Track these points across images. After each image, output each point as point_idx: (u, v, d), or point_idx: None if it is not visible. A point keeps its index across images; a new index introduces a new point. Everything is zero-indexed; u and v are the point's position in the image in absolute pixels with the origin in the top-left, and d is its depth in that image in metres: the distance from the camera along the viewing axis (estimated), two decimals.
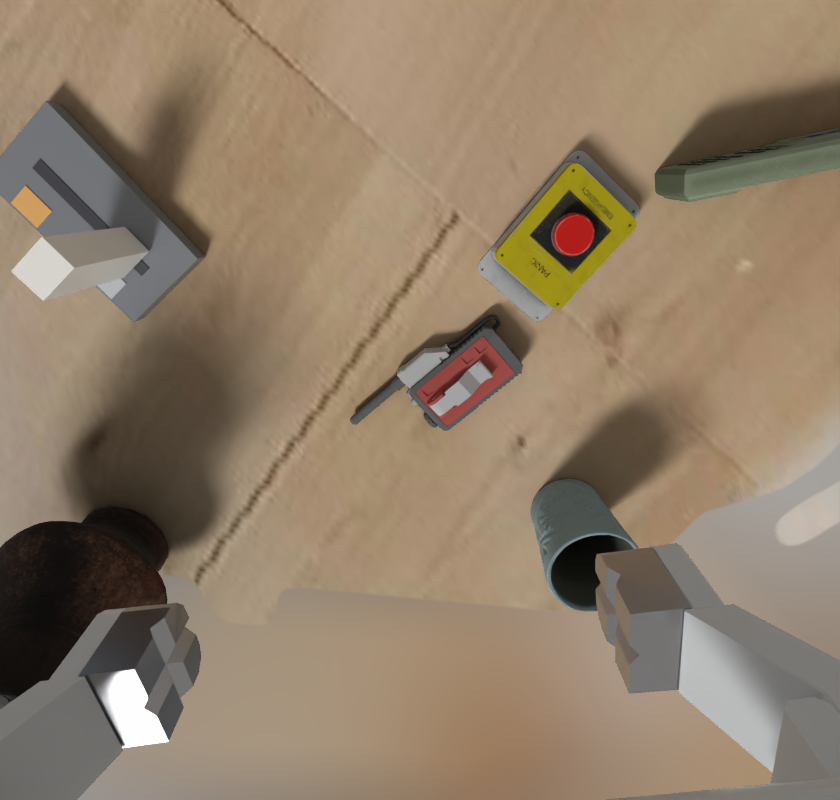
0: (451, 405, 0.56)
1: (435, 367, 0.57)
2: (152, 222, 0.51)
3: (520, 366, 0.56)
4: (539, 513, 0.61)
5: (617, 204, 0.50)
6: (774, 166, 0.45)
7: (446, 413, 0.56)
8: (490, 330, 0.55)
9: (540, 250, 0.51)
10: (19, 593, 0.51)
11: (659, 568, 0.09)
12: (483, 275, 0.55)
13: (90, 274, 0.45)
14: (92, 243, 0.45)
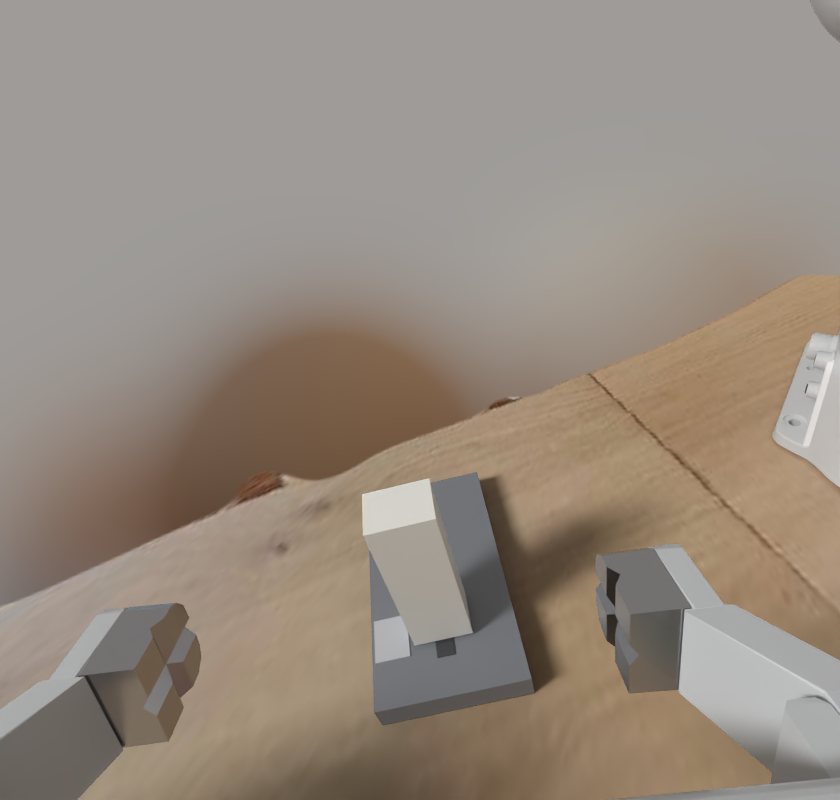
0: None
1: None
2: (500, 605, 0.37)
3: None
4: None
5: None
6: None
7: None
8: None
9: None
10: None
11: (659, 568, 0.09)
12: None
13: (421, 567, 0.30)
14: (448, 547, 0.32)
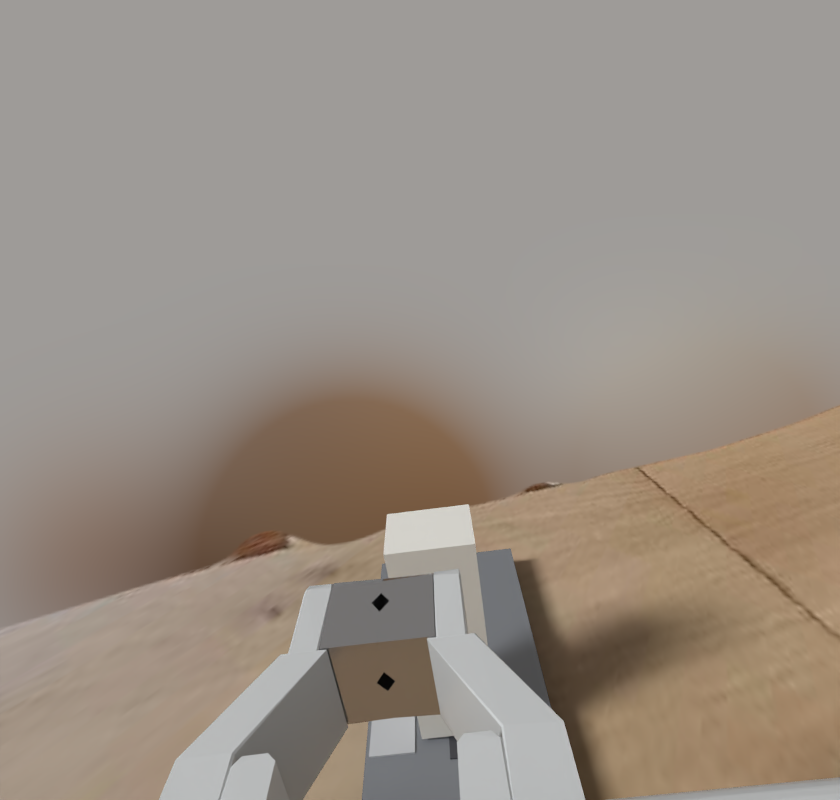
0: None
1: None
2: None
3: None
4: None
5: None
6: None
7: None
8: None
9: None
10: None
11: (427, 595, 0.09)
12: None
13: None
14: None
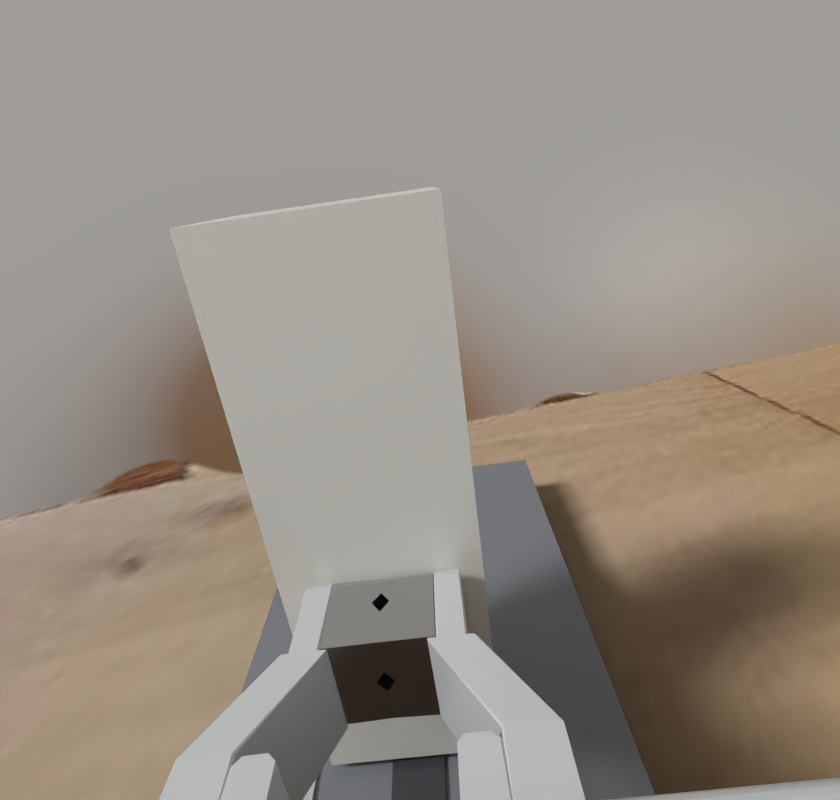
0: None
1: None
2: (596, 729, 0.13)
3: None
4: None
5: None
6: None
7: None
8: None
9: None
10: None
11: (427, 595, 0.09)
12: None
13: (372, 442, 0.09)
14: None
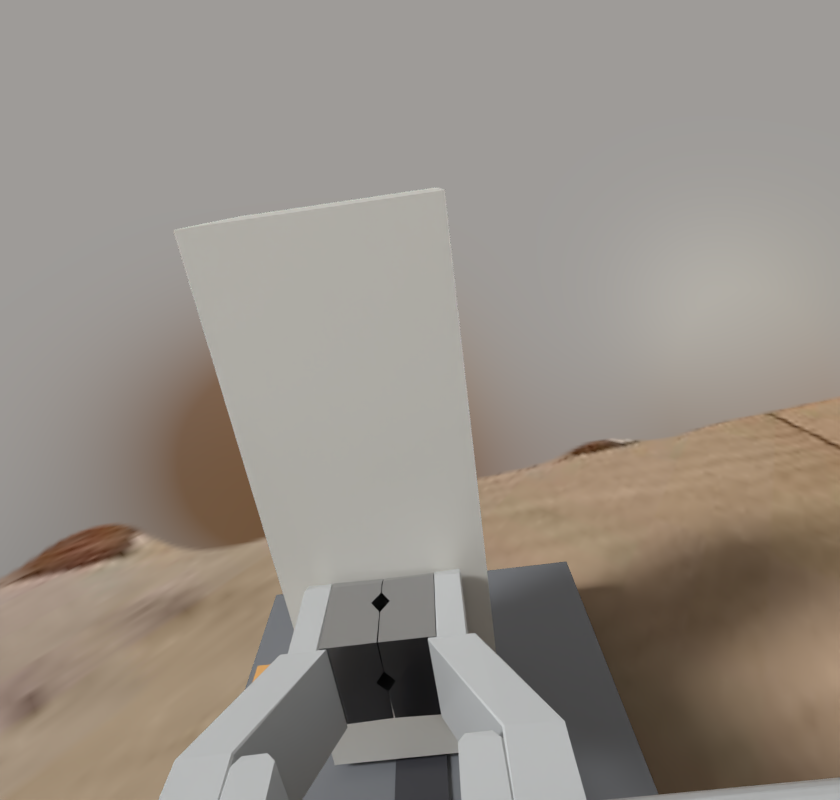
0: None
1: None
2: None
3: None
4: None
5: None
6: None
7: None
8: None
9: None
10: None
11: (428, 595, 0.09)
12: None
13: (376, 443, 0.09)
14: None
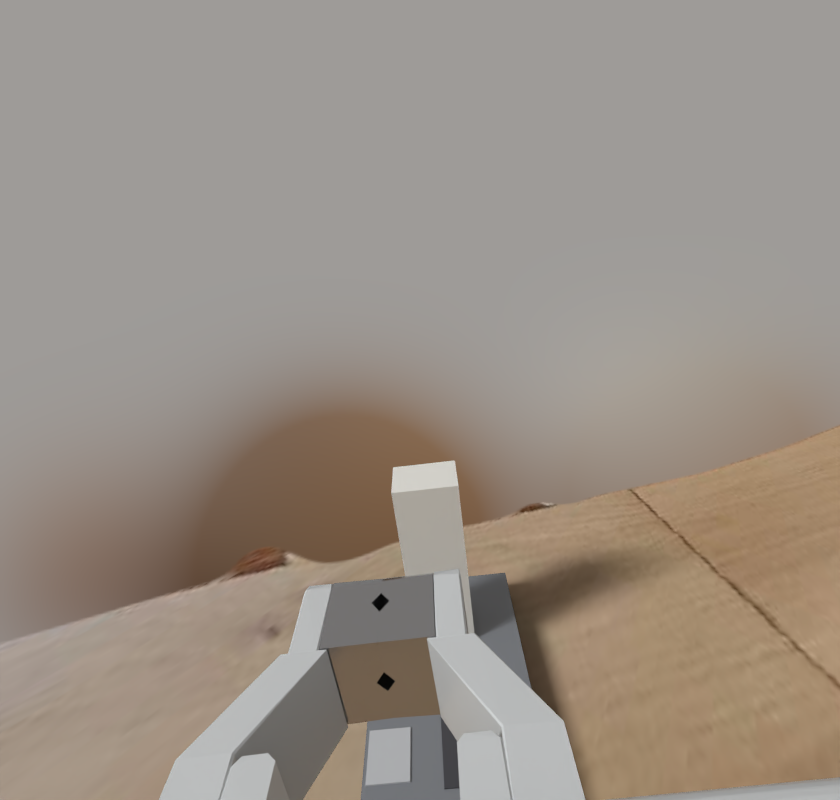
0: None
1: None
2: None
3: None
4: None
5: None
6: None
7: None
8: None
9: None
10: None
11: (427, 595, 0.09)
12: None
13: (437, 541, 0.33)
14: None
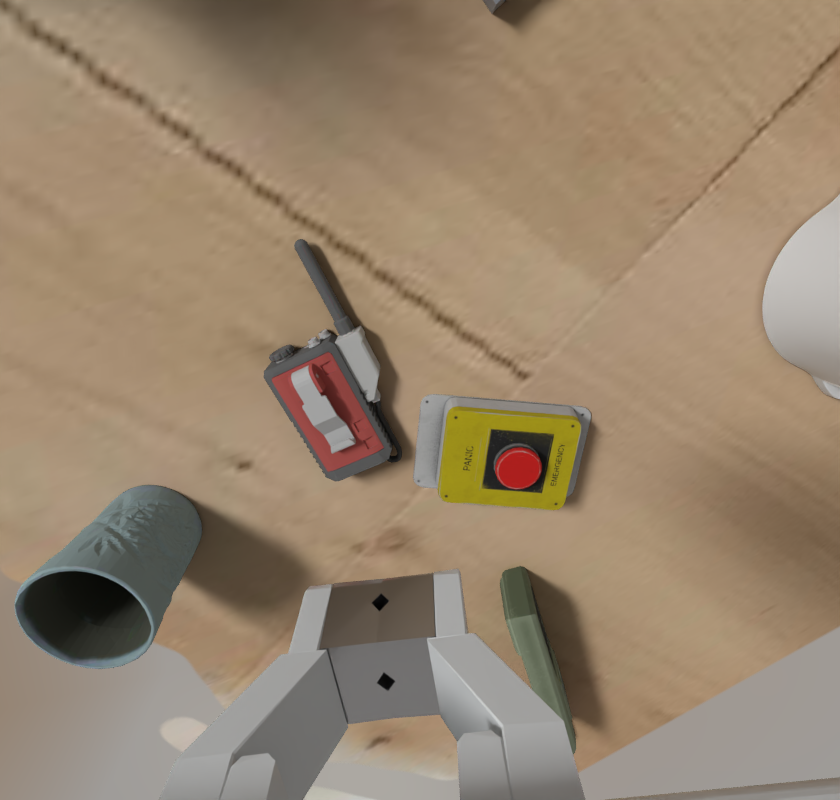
0: (304, 399, 0.41)
1: (356, 382, 0.43)
2: None
3: (334, 478, 0.46)
4: (148, 509, 0.45)
5: (567, 481, 0.46)
6: (541, 675, 0.50)
7: (294, 390, 0.41)
8: (388, 456, 0.45)
9: (484, 448, 0.45)
10: None
11: (427, 595, 0.09)
12: (422, 406, 0.46)
13: None
14: None
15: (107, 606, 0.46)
